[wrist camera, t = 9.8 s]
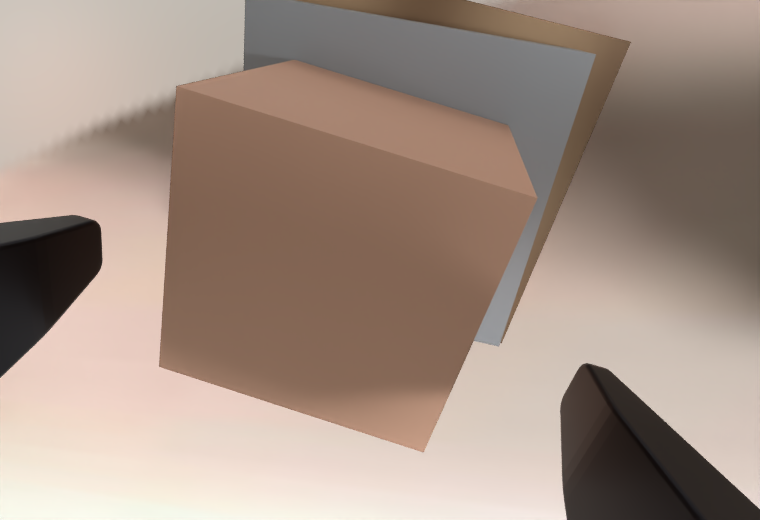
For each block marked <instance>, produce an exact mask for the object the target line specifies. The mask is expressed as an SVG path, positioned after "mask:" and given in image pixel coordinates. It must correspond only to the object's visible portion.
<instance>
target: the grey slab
mask: <svg viewBox="0 0 760 520" xmlns="http://www.w3.org/2000/svg"><path fill="white" fill-rule="evenodd" d="M595 56H596V54H592V53H588V52H584V51H581V50H577V49H571V48H565V47H560V46H554V45H548V44H542V43H537V42H531V41H525V40H520V39H514V38H508V37H502V36H497V35H491V34H485V33H480V32H474V31H468V30H463V29H457V28H451V27H445V26H440V25H434V24H428V23H423V22H417V21H411V20H405V19H400V18H394V17H388V16H383V15H377V14H371V13H365V12H360V11H354V10H348V9H343V8H337V7H331V6H325V5H320V4H314V3H308V2H303V1H297V0H245V39H244V71H246V70H251V69H255V68H259V67H264V66H268V65H273V64H277V63H282V62H286V61H291V60H297V61H301V62H304V63H307V64H310V65H314V66H317V67H320V68H323V69H327V70H330V71H333V72H336V73H340V74H343V75H346V76H349V77H353V78H356V79H359V80H362V81H366V82H369V83H372V84H375V85H379V86H382V87H385V88H388V89H392V90H395V91H398V92H401V93H405V94H408V95H411V96H414V97H418V98H421V99H424V100H427V101H431V102H434V103H437V104H440V105H444V106H447V107H450V108H453V109H457V110H460V111H463V112H467V113H470V114H473V115H476V116H480V117H483V118H486V119H489V120H493V121H496V122H499V123H502V124H506V125H508V126H509V128H510V131H511V133H512V136H513V138H514V140H515V143H516V145H517V148H518V150H519V153H520V155H521V158H522V160H523V163H524V165H525V168H526V170H527V173H528V175H529V178H530V180H531V183H532V185H533V188H534V190H535V193H536V195H537V201H536V203H535V205H534V207H533V210H532V212H531V214H530V216H529V219H528V221H527V223H526V225H525V227H524V230H523V232H522V234H521V236H520V239H519V241H518V243H517V245H516V247H515V250H514V252H513V254H512V256H511V259H510V261H509V263H508V265H507V267H506V270H505V272H504V274H503V276H502V279H501V281H500V283H499V285H498V288H497V290H496V292H495V294H494V296H493V299H492V301H491V303H490V305H489V308H488V310H487V312H486V314H485V316H484V319H483V321H482V323H481V325H480V328H479V330H478V332H477V334H476V336H475V339H474V341H477V342H481V343H486V344H490V345H495V346H499V345H500V342H501V339H502V336H503V333H504V330H505V327H506V324H507V321H508V318H509V315H510V312H511V309H512V306H513V303H514V300H515V297H516V294H517V291H518V288H519V285H520V282H521V279H522V276H523V273H524V270H525V267H526V264H527V261H528V258H529V255H530V252H531V249H532V246H533V243H534V240H535V237H536V234H537V231H538V228H539V225H540V222H541V219H542V216H543V213H544V210H545V207H546V204H547V201H548V198H549V195H550V192H551V189H552V186H553V183H554V180H555V177H556V174H557V171H558V168H559V164H560V161H561V158H562V155H563V152H564V149H565V146H566V143H567V140H568V137H569V134H570V131H571V128H572V125H573V122H574V119H575V116H576V113H577V110H578V107H579V104H580V101H581V98H582V95H583V92H584V89H585V86H586V83H587V80H588V77H589V74H590V71H591V68H592V65H593V62H594V59H595Z"/></svg>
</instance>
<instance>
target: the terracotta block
mask: <svg viewBox="0 0 760 520" xmlns="http://www.w3.org/2000/svg"><path fill="white" fill-rule="evenodd" d="M536 201H537V195H536V193H535V190H534V188H533V185H532V183H531V180H530V178H529V175H528V173H527V170H526V168H525V165H524V163H523V160H522V158H521V155H520V153H519V150H518V148H517V145H516V143H515V140H514V138H513V136H512V133H511V131H510V128H509V126H508V125H506V124H502V123H499V122H496V121H493V120H489V119H486V118H483V117H480V116H476V115H473V114H470V113H467V112H463V111H460V110H457V109H453V108H450V107H447V106H444V105H440V104H437V103H434V102H431V101H427V100H424V99H421V98H418V97H414V96H411V95H408V94H405V93H401V92H398V91H395V90H392V89H388V88H385V87H382V86H379V85H375V84H372V83H369V82H366V81H362V80H359V79H356V78H353V77H349V76H346V75H343V74H340V73H336V72H333V71H330V70H327V69H323V68H320V67H317V66H314V65H310V64H307V63H304V62H301V61H297V60H291V61H286V62H282V63H277V64H273V65H268V66H264V67H259V68H255V69H251V70H246V71H242V72H237V73H233V74H228V75H224V76H219V77H215V78H210V79H206V80H201V81H197V82H192V83H188V84H184V85H179V86H176V102H175V119H174V135H173V151H172V167H171V183H170V199H169V215H168V232H167V248H166V264H165V280H164V296H163V312H162V328H161V344H160V361H159V367H162V368H165V369H168V370H171V371H174V372H177V373H180V374H183V375H186V376H190V377H193V378H196V379H199V380H202V381H205V382H208V383H211V384H214V385H217V386H220V387H223V388H227V389H230V390H233V391H236V392H239V393H242V394H245V395H248V396H251V397H254V398H257V399H260V400H264V401H267V402H270V403H273V404H276V405H279V406H282V407H285V408H288V409H291V410H294V411H297V412H301V413H304V414H307V415H310V416H313V417H316V418H319V419H322V420H325V421H328V422H331V423H334V424H338V425H341V426H344V427H347V428H350V429H353V430H356V431H359V432H362V433H365V434H368V435H371V436H375V437H378V438H381V439H384V440H387V441H390V442H393V443H396V444H399V445H402V446H405V447H408V448H412V449H415V450H418V451H421V452H424V450H425V448H426V446H427V443H428V441H429V439H430V437H431V434H432V432H433V430H434V428H435V425H436V423H437V421H438V419H439V417H440V414H441V412H442V410H443V408H444V405H445V403H446V401H447V399H448V397H449V394H450V392H451V390H452V388H453V385H454V383H455V381H456V379H457V377H458V374H459V372H460V370H461V368H462V365H463V363H464V361H465V359H466V356H467V354H468V352H469V350H470V348H471V345H472V343H473V341H474V339H475V336H476V334H477V332H478V330H479V328H480V325H481V323H482V321H483V319H484V316H485V314H486V312H487V310H488V308H489V305H490V303H491V301H492V299H493V296H494V294H495V292H496V290H497V288H498V285H499V283H500V281H501V279H502V276H503V274H504V272H505V270H506V267H507V265H508V263H509V261H510V259H511V256H512V254H513V252H514V250H515V247H516V245H517V243H518V241H519V239H520V236H521V234H522V232H523V230H524V227H525V225H526V223H527V221H528V219H529V216H530V214H531V212H532V210H533V207H534V205H535V203H536Z"/></svg>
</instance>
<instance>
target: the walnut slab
mask: <svg viewBox="0 0 760 520" xmlns="http://www.w3.org/2000/svg"><path fill="white" fill-rule="evenodd" d="M297 1H303V2H308V3H314V4H320V5H325V6H331V7H337V8H343V9H348V10H354V11H360V12H365V13H371V14H377V15H383V16H388V17H394V18H400V19H405V20H411V21H417V22H423V23H428V24H434V25H440V26H445V27H451V28H457V29H463V30H468V31H474V32H480V33H485V34H491V35H497V36H502V37H508V38H514V39H520V40H525V41H531V42H537V43H542V44H548V45H554V46H560V47H565V48H571V49H577V50H581V51H584V52H588V53H592V54H596V56H595V59H594V62H593V65H592V68H591V71H590V74H589V77H588V80H587V83H586V86H585V89H584V92H583V95H582V98H581V101H580V104H579V107H578V110H577V113H576V116H575V119H574V122H573V125H572V128H571V131H570V134H569V137H568V140H567V143H566V146H565V149H564V152H563V155H562V158H561V161H560V164H559V168H558V171H557V174H556V177H555V180H554V183H553V186H552V189H551V192H550V195H549V198H548V201H547V204H546V207H545V210H544V213H543V216H542V219H541V222H540V225H539V228H538V231H537V234H536V237H535V240H534V243H533V246H532V249H531V252H530V255H529V258H528V261H527V264H526V267H525V270H524V273H523V276H522V279H521V282H520V285H519V288H518V291H517V294H516V297H515V300H514V303H513V306H512V309H511V312H510V315H509V318H508V321H507V324H506V327H505V330H504V333H503V336H502V339H501V342H500V343H502V341H503V339H504V336H505V334H506V332H507V329H508V327H509V325H510V322H511V320H512V318H513V315H514V313H515V311H516V308H517V306H518V304H519V301H520V299H521V297H522V294H523V292H524V290H525V287H526V285H527V283H528V280H529V278H530V276H531V273H532V271H533V269H534V266H535V264H536V262H537V259H538V257H539V255H540V252H541V250H542V248H543V245H544V243H545V241H546V238H547V236H548V234H549V231H550V229H551V227H552V224H553V222H554V220H555V218H556V215H557V213H558V211H559V208H560V206H561V204H562V201H563V199H564V197H565V194H566V192H567V190H568V187H569V185H570V183H571V180H572V178H573V176H574V173H575V171H576V169H577V166H578V164H579V162H580V159H581V157H582V155H583V152H584V150H585V148H586V145H587V143H588V141H589V138H590V136H591V134H592V131H593V129H594V127H595V124H596V122H597V120H598V117H599V115H600V113H601V110H602V108H603V106H604V103H605V101H606V99H607V96H608V94H609V92H610V89H611V87H612V85H613V82H614V80H615V78H616V76H617V73H618V71H619V69H620V66H621V64H622V62H623V59H624V57H625V55H626V52H627V50H628V48H629V45H630V43H631V42H629V41H625V40H621V39H617V38H613V37H609V36H605V35H601V34H597V33H594V32H590V31H586V30H582V29H578V28H574V27H570V26H566V25H562V24H558V23H554V22H550V21H546V20H542V19H538V18H534V17H530V16H526V15H522V14H519V13H515V12H511V11H507V10H503V9H499V8H495V7H491V6H487V5H483V4H479V3H475V2H471V1H467V0H297Z"/></svg>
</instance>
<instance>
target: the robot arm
mask: <svg viewBox="0 0 760 520" xmlns="http://www.w3.org/2000/svg"><path fill="white" fill-rule="evenodd" d="M101 266H102V239H101V228H100V225H99V224H98V223H97V222H96V221H94V220H91V219H88V218H84V217H81V216H77V215H69V216H60V217H51V218H42V219H33V220H23V221H14V222H5V223H0V378H1V377H2V376H3V375H4V374H5V373H6V372H7V371H8V370H9V369H10V368H11V367H12V366H13V365H14V364H15V363H16V362H17V361H18V360H20V359H21V358H22V357H23V356H24V355H25V354H26V353H27V352H28V351H29V350H30V349H31V348H32V347H33V346H34V345H35V344H36V343H37V342H38V341H39V340H40V339H41V338H42V337H43V336H44V335H45V334H46V333H47V332H48V331H49V330H50V329H51V328H52V327H53V325H54V324H55V323H56V322H57V321H58V320H59V319H60V317H61V316H62V315H63V314H64V313H65V311H66V310H67V309H68V308H69V307H70V306H71V304H72V303H73V302H74V301H75V300H76V299H77V297H78V296H79V295H80V294H81V293H82V292H83V290H84V289H85V288H86V287H87V286H88V285H89V283H90V282H91V281H92V280H93V279H94V278H95V276H96V275H97V274H98V272H99V271H100V268H101ZM560 414H561V452H562V482H563V494H564V502H565V509H566V516H567V520H760V509H759V508H758V507H757V506H756V505H755V504H753V503H752V502H751V501H750V500H749V499H748V498H747V497H746V496H745V495H744V494H743V493H742V492H740V491H739V490H738V489H737V488H736V487H735V486H734V485H733V484H732V483H731V482H730V481H729V480H728V479H726V478H725V477H724V476H723V475H722V474H721V473H720V472H719V471H718V470H717V469H716V468H715V467H713V466H712V465H711V464H710V463H709V462H708V461H707V460H706V459H705V458H704V457H703V456H702V455H700V454H699V453H698V452H697V451H696V450H695V449H694V448H693V447H692V446H691V445H690V444H689V443H687V442H686V441H685V440H684V439H683V438H682V437H681V436H680V435H679V434H678V433H677V432H676V431H674V430H673V429H672V428H671V427H670V426H669V425H668V424H667V423H666V422H665V421H664V420H663V419H662V418H660V417H659V416H658V415H657V414H656V413H655V412H654V411H653V410H652V409H651V408H650V407H649V406H647V405H646V404H645V403H644V402H643V401H642V400H641V399H640V398H639V397H638V396H637V395H636V394H634V393H633V392H632V391H631V390H630V389H629V388H628V387H627V386H626V385H625V384H624V383H623V382H621V381H620V380H619V379H618V378H617V377H616V376H615V375H614V374H613V373H612V372H611V371H609V370H608V369H606V368H603V367H599V366H596V365H592V364H588V363H586V364H583V365H582V366H581V367H580V368H579V369H578V371H577V372H576V374H575V376H574V378H573V380H572V381H571V383H570V385H569V387H568V389H567V390H566V392H565V394H564V396H563V398H562V402H561V408H560Z"/></svg>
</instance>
